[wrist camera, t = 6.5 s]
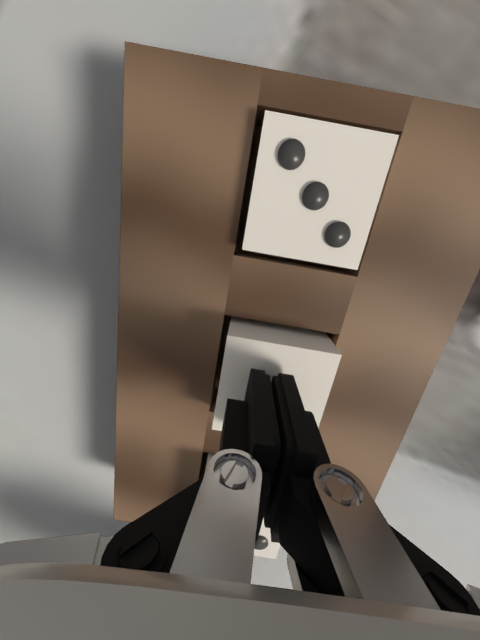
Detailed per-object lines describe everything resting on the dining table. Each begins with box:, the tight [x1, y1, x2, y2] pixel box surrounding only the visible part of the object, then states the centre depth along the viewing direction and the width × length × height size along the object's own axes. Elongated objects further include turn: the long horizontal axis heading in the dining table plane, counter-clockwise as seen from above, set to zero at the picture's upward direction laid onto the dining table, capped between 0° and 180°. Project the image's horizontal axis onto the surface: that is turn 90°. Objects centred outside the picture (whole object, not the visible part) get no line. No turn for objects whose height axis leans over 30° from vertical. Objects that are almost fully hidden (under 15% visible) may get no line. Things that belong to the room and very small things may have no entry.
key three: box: [242, 110, 399, 270], centre depth 11 cm, size 4×4×3 cm
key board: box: [114, 42, 480, 546], centre depth 14 cm, size 22×14×3 cm, turn 170°
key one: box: [212, 316, 342, 431], centre depth 12 cm, size 4×4×3 cm
